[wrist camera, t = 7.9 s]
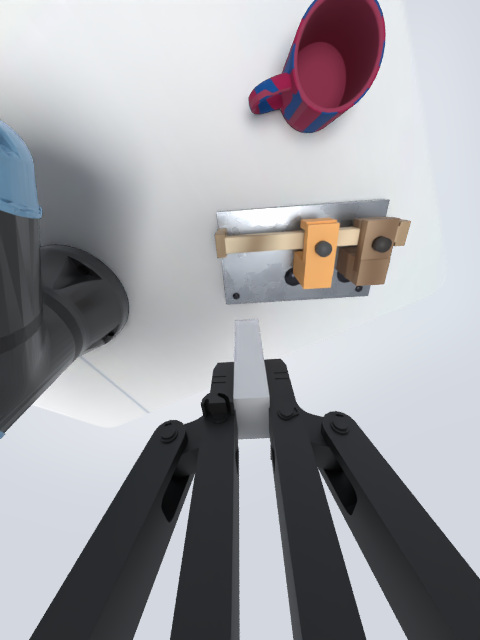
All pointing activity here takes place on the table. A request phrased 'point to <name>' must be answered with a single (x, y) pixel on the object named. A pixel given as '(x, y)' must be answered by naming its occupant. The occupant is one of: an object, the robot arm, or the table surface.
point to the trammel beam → (353, 262)
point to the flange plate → (286, 252)
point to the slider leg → (317, 253)
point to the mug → (326, 64)
